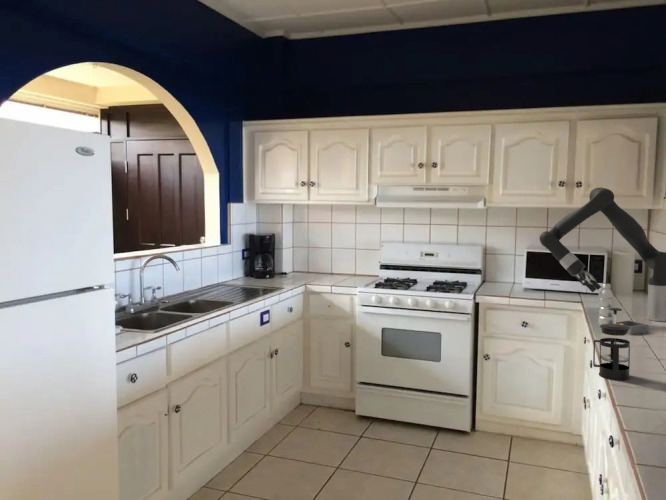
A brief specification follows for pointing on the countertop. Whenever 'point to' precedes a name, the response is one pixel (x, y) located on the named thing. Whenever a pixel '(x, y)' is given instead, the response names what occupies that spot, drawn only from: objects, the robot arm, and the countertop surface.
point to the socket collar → (634, 327)
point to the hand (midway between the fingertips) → (597, 289)
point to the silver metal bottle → (606, 305)
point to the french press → (613, 351)
